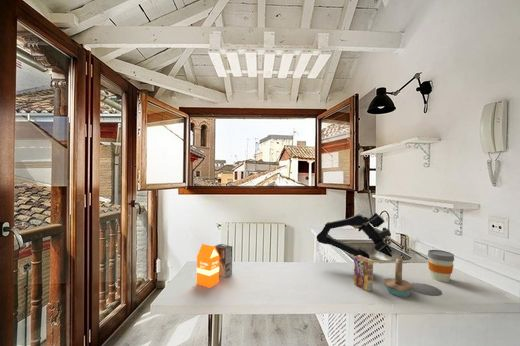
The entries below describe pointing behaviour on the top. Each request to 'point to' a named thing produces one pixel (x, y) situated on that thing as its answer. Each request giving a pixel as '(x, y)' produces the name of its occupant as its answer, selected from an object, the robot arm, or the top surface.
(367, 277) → the candy box
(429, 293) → the mat
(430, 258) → the reusable coffee cup
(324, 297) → the top surface
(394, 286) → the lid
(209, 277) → the orange juice
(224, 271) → the coffee box
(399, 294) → the bowl
